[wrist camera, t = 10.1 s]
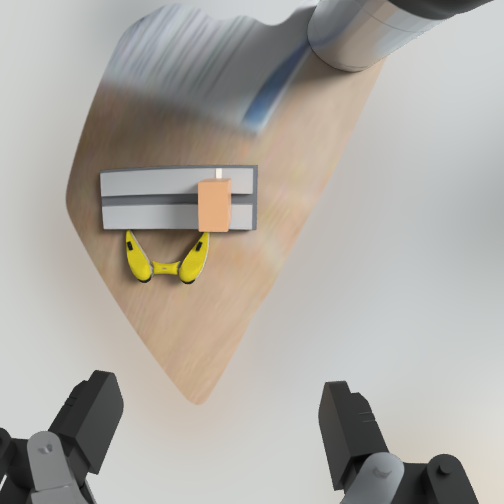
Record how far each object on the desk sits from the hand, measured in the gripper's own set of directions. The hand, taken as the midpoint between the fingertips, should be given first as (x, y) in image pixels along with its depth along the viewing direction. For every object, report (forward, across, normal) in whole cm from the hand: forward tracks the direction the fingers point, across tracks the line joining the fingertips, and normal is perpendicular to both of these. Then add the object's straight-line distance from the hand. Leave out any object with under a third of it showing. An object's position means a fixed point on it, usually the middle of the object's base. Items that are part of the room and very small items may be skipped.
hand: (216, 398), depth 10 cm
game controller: (+27, +8, +3) cm, 28 cm away
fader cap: (+24, +2, -4) cm, 25 cm away
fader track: (+26, +7, -4) cm, 27 cm away
